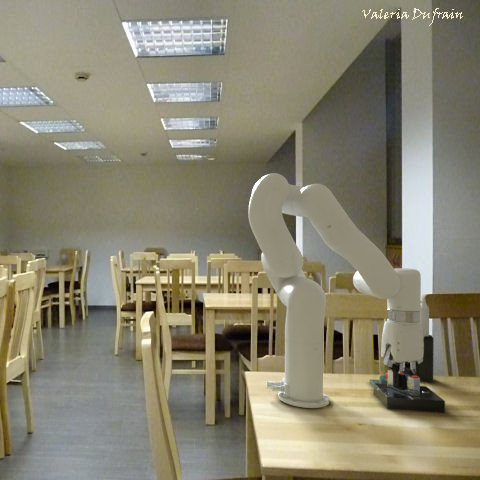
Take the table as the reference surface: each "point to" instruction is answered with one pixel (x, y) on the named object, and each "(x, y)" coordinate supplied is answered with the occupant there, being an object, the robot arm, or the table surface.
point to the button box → (381, 380)
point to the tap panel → (409, 399)
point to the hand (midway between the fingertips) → (403, 387)
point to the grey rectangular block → (406, 384)
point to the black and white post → (426, 347)
